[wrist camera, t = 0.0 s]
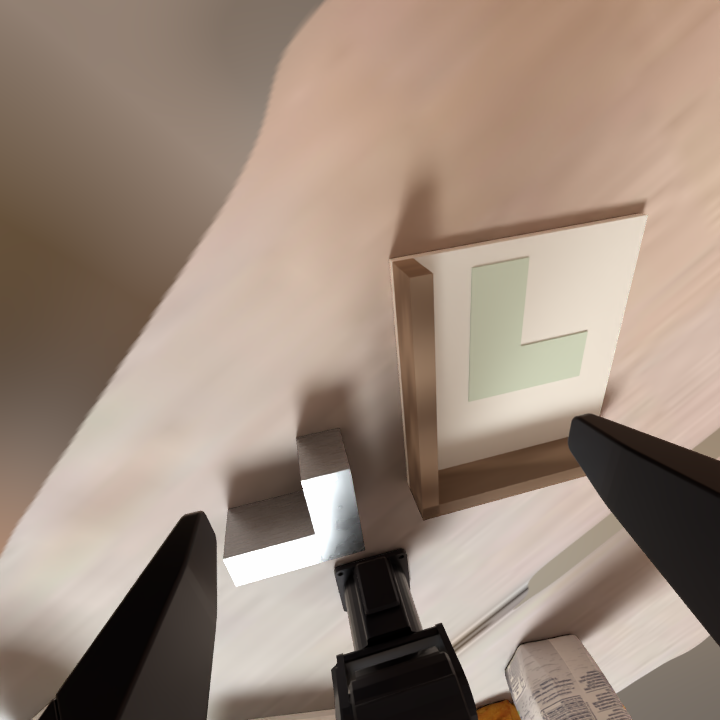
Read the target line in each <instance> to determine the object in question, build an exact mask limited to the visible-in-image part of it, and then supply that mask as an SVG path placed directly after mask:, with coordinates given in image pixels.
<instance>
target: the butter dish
mask: <svg viewBox="0 0 720 720" xmlns="http://www.w3.org/2000/svg"><path fill="white" fill-rule="evenodd" d="M250 720H336V718H335V709H330V710H322V711H314V712H306V713H298V714H290V715H282V716H274V717H266V718H258V719H250Z"/></svg>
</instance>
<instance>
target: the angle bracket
mask: <svg viewBox="0 0 720 720" xmlns="http://www.w3.org/2000/svg"><path fill="white" fill-rule="evenodd" d="M296 442H297V451H298V459H299V468H300V477H301V483H302V487H303V491H299V492H295V493H291V494H287V495H283V496H279V497H275V498H271V499H267V500H263V501H259V502H255V503H251V504H247V505H243V506H239V507H235V508H232V509H228V513H227V524H226V534H225V545H224V556H223V560H224V562H225V564H226V566H227V568H228V571H229V573H230V575H231V577H232V579H233V581H234V583H235V585H236V586H239V585H242V584H246V583H249V582H253V581H257V580H260V579H264V578H267V577H271V576H274V575H278V574H282V573H285V572H289V571H292V570H296V569H300V568H303V567H307V566H310V565H314V564H317V563H321V562H325V561H328V560H332V559H335V558H339V557H343V556H346V555H350V554H353V553H357V552H360V551H364V550H365V547H364V541H363V536H362V530H361V525H360V519H359V514H358V508H357V503H356V497H355V492H354V486H353V481H352V476H351V470H350V466H349V462H348V459H347V455H346V451H345V448H344V444H343V440H342V436H341V433H340V429H339V428H336V429H332V430H328V431H323V432H319V433H315V434H311V435H306V436H302V437H298V438H296Z"/></svg>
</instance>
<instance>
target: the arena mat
mask: <svg viewBox="0 0 720 720" xmlns="http://www.w3.org/2000/svg"><path fill="white" fill-rule="evenodd" d="M647 217H648V215H646V214H641V213H639V214H633V215H628V216H622V217H617V218H611V219H606V220H600V221H595V222H590V223H584V224H579V225H573V226H568V227H562V228H557V229H551V230H546V231H540V232H535V233H529V234H524V235H518V236H513V237H507V238H502V239H497V240H491V241H486V242H480V243H475V244H469V245H464V246H458V247H453V248H447V249H442V250H436V251H431V252H425V253H420V254H414V255H409V256H404V257H398V258H393V259H389V264H390V276H391V288H392V300H393V313H394V325H395V337H396V349H397V361H398V373H399V386H400V398H401V410H402V422H403V434H404V447H405V459H406V471H407V483H408V485H409V488H410V483H409V470H408V458H407V445H406V432H405V419H404V407H403V394H402V381H401V368H400V356H399V343H398V330H397V318H396V305H395V292H394V279H393V267H392V262H394V261H400V260H405V259H411V258H414V259H415V260H416V261H418V262H419V263H420V264H421V265H423V266H424V267H425V268H427V269H428V270H429V271H431V272H432V273H433V283H434V323H435V363H436V403H437V443H438V470H442V469H445V468H449V467H453V466H457V465H461V464H465V463H469V462H473V461H476V460H480V459H484V458H488V457H492V456H496V455H500V454H504V453H507V452H511V451H515V450H519V449H523V448H527V447H531V446H535V445H538V444H542V443H546V442H550V441H554V440H558V439H562V438H566V437H568V436H569V431H570V426H571V421H572V419H573V418H574V417H575V416H579V415H583V414H587V413H591V414H594V415H597V416H600V412H601V407H602V403H603V399H604V395H605V391H606V387H607V383H608V378H609V374H610V370H611V366H612V362H613V358H614V354H615V349H616V345H617V341H618V337H619V333H620V329H621V324H622V320H623V316H624V312H625V308H626V304H627V300H628V295H629V291H630V287H631V283H632V279H633V275H634V271H635V266H636V262H637V258H638V254H639V250H640V246H641V242H642V237H643V233H644V229H645V225H646V221H647Z"/></svg>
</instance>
